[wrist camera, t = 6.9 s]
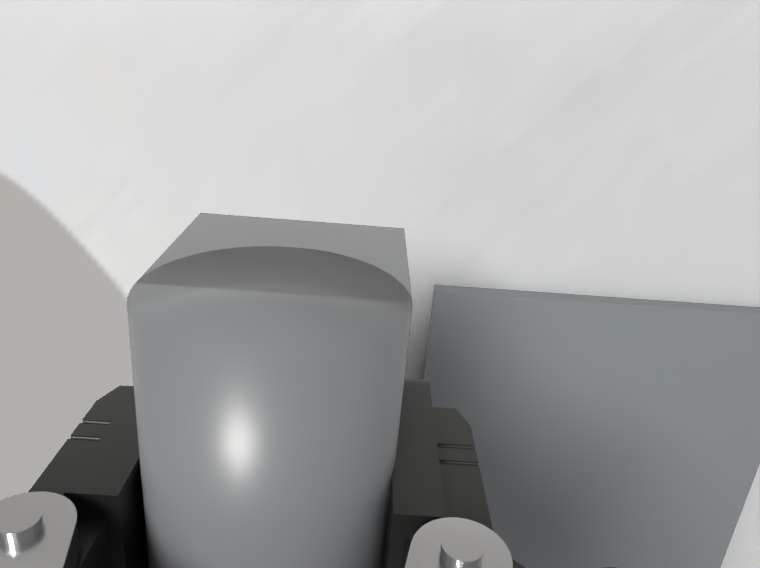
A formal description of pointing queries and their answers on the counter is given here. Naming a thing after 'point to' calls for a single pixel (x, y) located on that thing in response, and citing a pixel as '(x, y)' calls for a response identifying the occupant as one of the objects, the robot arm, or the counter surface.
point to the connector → (270, 392)
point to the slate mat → (603, 421)
